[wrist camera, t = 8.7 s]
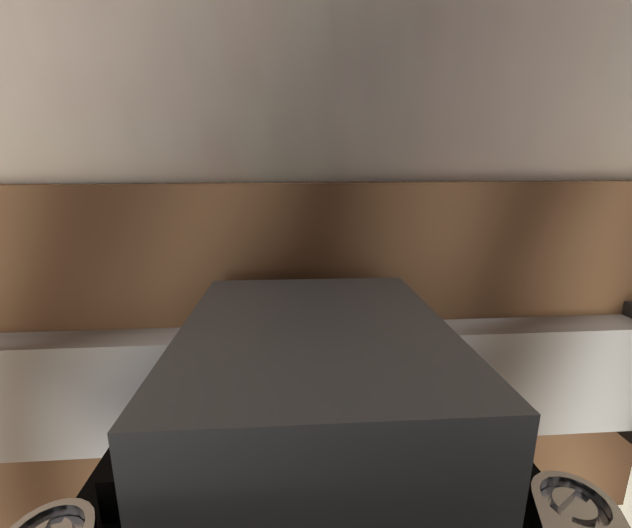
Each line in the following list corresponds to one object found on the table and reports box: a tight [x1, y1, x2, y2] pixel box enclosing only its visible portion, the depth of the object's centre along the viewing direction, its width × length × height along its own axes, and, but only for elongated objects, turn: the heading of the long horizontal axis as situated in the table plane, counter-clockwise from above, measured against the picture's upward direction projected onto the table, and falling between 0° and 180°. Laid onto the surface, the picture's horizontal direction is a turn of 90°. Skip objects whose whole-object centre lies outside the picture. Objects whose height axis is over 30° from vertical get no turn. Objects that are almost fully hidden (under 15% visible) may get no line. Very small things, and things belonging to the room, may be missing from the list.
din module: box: [107, 277, 541, 528], centre depth 9 cm, size 5×8×7 cm, turn 0°
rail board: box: [0, 180, 632, 528], centre depth 12 cm, size 24×12×4 cm, turn 90°
